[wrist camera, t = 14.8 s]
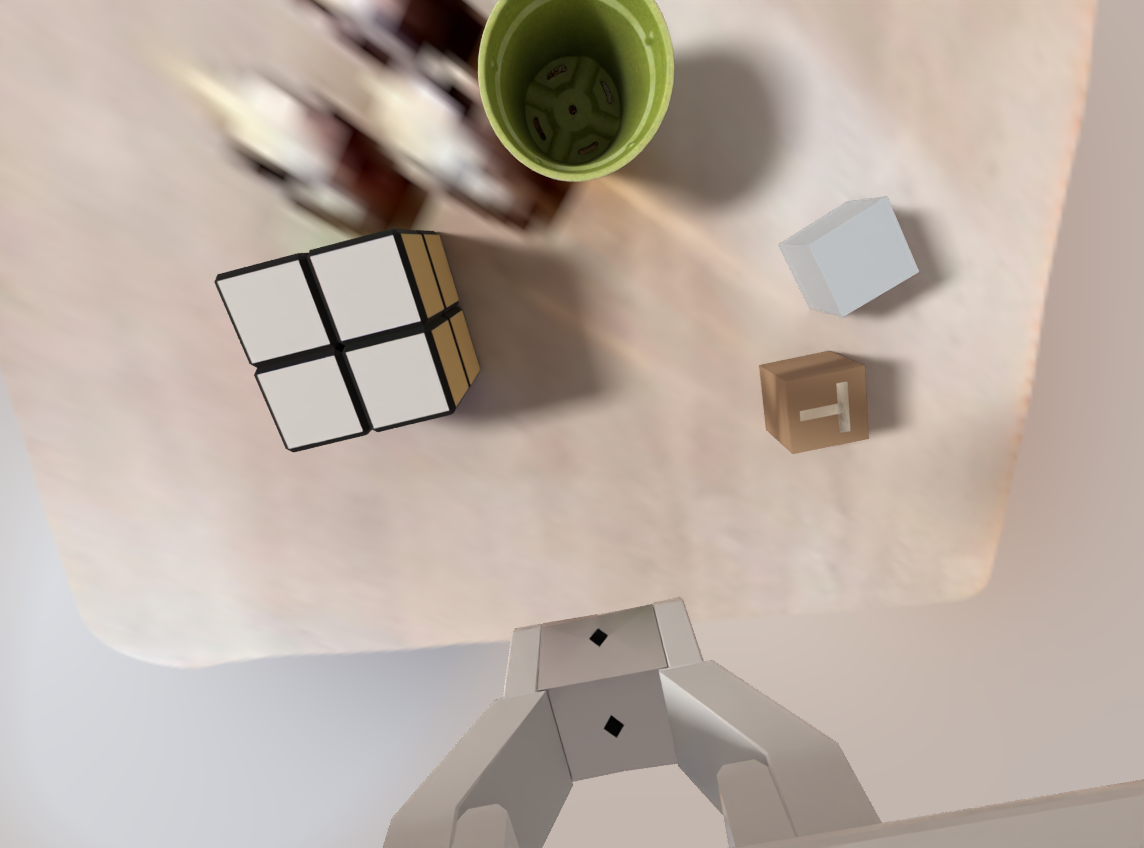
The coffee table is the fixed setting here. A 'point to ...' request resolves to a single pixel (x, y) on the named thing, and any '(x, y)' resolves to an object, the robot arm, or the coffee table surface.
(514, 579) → the coffee table surface
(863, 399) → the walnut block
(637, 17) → the plant pot
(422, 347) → the puzzle cube
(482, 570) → the coffee table surface
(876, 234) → the grey-blue block
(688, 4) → the coffee table surface
